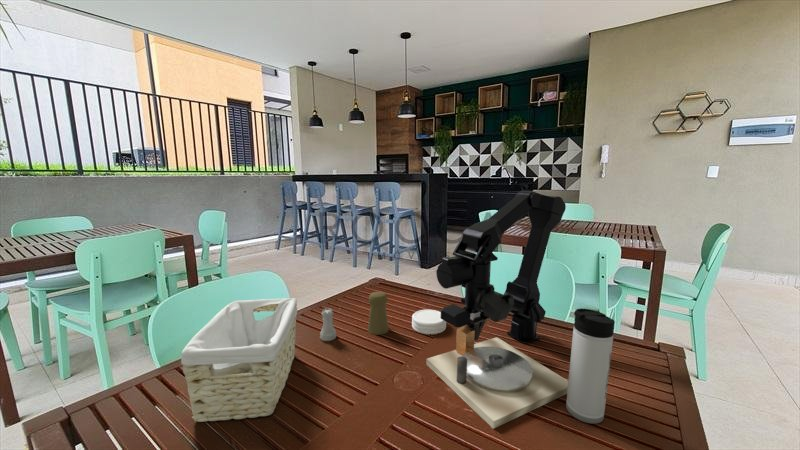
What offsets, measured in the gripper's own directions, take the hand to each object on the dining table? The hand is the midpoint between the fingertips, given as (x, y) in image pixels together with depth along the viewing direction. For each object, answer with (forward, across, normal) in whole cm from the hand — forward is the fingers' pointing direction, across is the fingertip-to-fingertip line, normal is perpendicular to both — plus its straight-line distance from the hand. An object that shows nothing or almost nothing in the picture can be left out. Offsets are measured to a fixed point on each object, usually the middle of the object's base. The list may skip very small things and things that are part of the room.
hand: (475, 339), depth 81 cm
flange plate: (+2, -3, -8) cm, 8 cm away
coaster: (+4, 0, +18) cm, 18 cm away
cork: (+4, -14, +24) cm, 28 cm away
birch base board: (+4, -3, -9) cm, 10 cm away
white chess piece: (+4, -27, +28) cm, 39 cm away
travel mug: (+4, +2, -26) cm, 26 cm away
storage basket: (+3, -48, +19) cm, 52 cm away
